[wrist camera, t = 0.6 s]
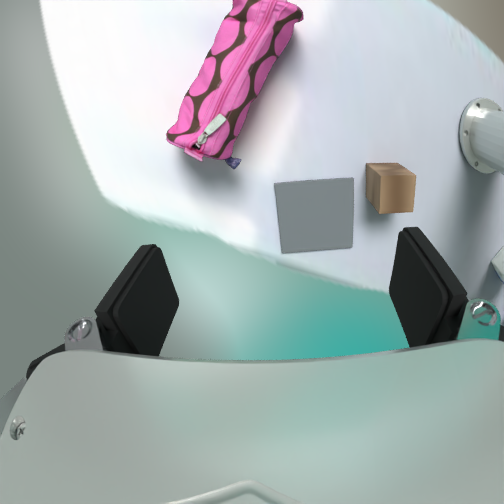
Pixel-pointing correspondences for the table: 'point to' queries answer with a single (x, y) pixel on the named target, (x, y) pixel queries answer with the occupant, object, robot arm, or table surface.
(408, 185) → the walnut block
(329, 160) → the table surface
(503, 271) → the ink box
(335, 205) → the felt pad
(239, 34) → the pencil case
